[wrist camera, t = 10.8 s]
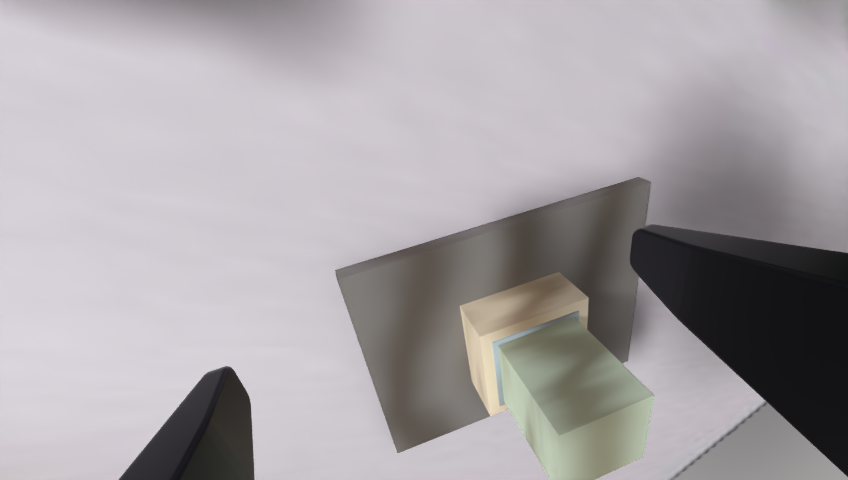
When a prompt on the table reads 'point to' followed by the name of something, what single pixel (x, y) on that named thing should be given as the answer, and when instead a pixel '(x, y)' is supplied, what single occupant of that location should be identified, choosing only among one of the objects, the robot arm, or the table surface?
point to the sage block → (574, 401)
